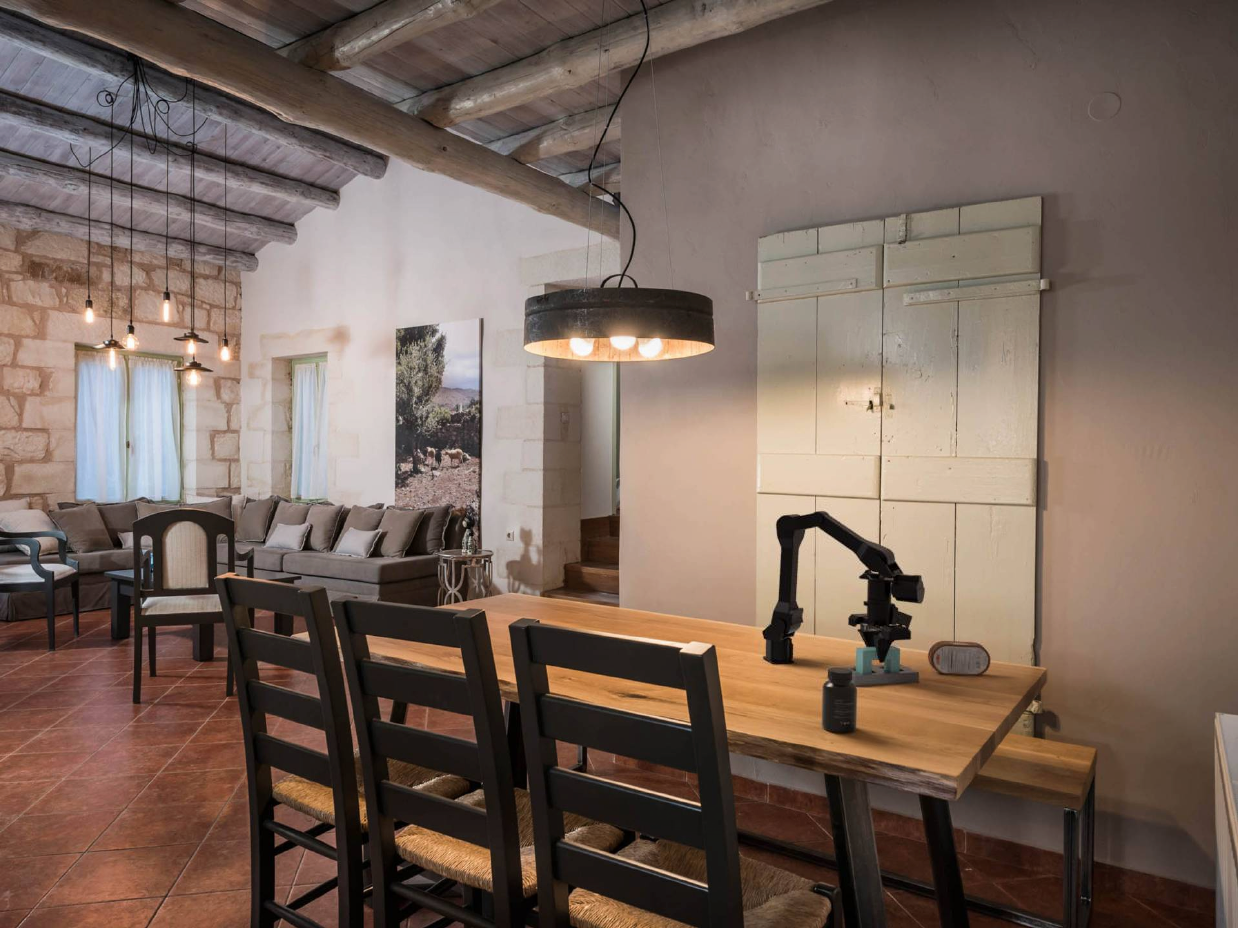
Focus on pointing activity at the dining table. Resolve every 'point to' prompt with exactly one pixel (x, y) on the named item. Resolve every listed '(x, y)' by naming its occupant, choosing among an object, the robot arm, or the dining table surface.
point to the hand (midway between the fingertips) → (877, 660)
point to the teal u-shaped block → (870, 653)
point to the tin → (959, 658)
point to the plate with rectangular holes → (884, 676)
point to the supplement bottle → (839, 701)
